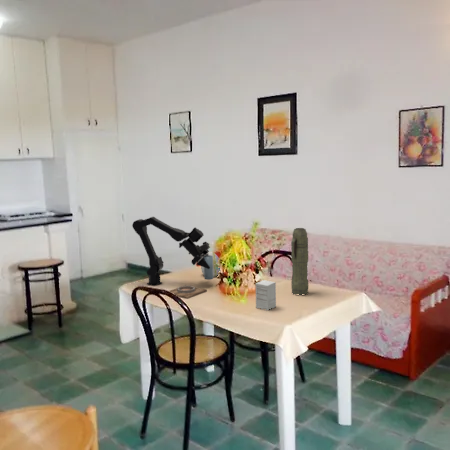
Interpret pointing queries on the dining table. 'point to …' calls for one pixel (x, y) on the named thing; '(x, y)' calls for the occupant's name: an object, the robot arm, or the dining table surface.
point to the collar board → (198, 291)
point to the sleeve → (208, 272)
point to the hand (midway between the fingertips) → (210, 267)
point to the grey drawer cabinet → (265, 294)
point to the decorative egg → (215, 260)
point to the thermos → (299, 261)
